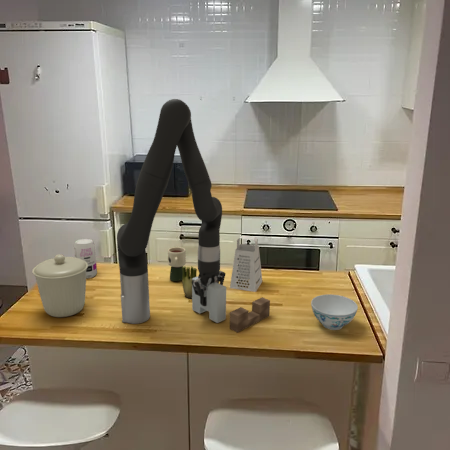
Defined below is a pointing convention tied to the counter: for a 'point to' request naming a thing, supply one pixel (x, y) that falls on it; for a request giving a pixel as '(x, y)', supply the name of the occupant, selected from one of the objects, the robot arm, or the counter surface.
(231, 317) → the walnut stand
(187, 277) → the fennel bulb
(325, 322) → the chinaware
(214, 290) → the plain gray rectangular block
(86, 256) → the supplement can
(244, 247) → the grater
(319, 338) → the counter surface
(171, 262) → the character mug
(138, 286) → the robot arm
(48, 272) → the canister
